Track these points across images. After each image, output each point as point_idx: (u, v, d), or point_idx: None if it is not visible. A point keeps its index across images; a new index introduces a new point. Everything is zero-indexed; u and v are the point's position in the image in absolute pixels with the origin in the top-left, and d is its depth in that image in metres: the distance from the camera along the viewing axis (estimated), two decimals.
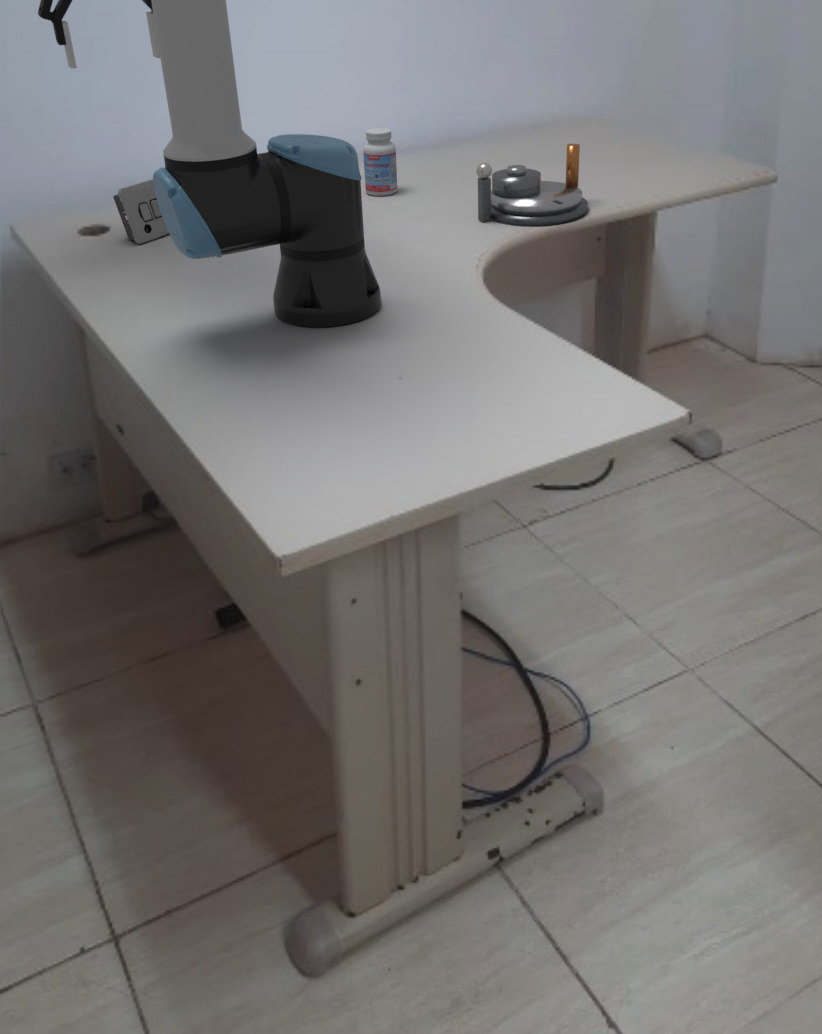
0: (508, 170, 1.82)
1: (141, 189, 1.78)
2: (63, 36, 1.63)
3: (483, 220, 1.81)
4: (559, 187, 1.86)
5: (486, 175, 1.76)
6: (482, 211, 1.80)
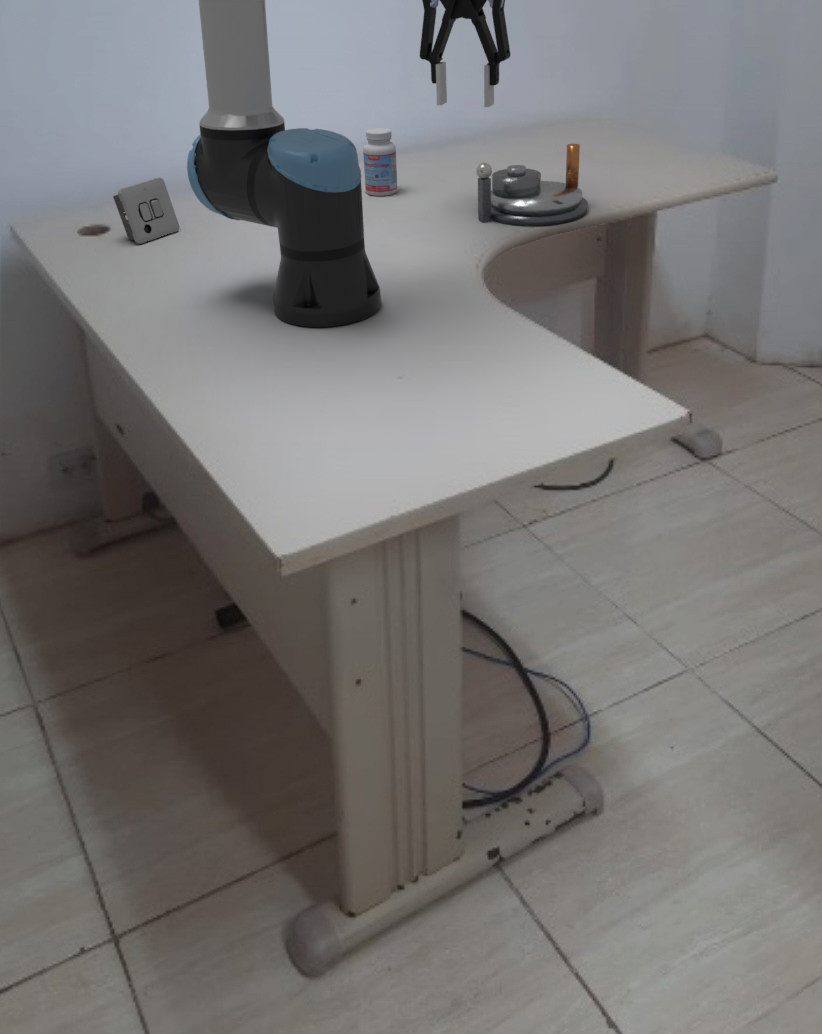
0: (508, 170, 1.82)
1: (141, 189, 1.78)
2: None
3: (483, 220, 1.81)
4: (559, 187, 1.86)
5: (486, 175, 1.76)
6: (482, 211, 1.80)
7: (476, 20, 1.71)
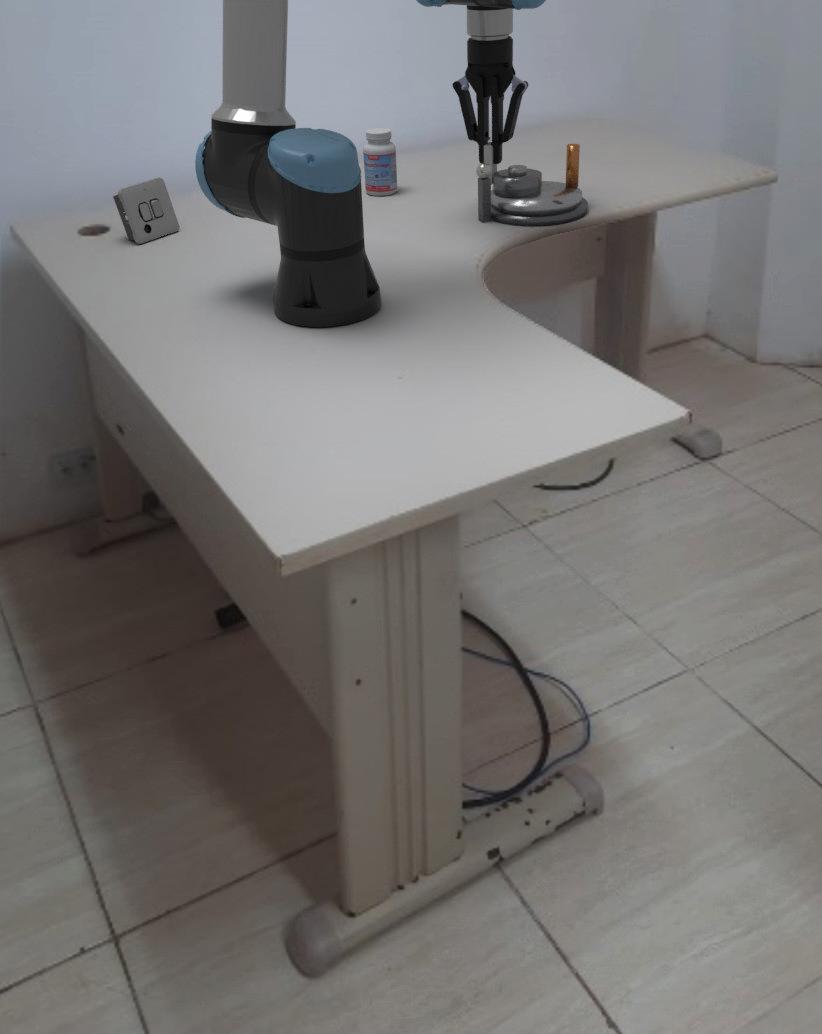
0: (509, 170, 1.82)
1: (141, 189, 1.78)
2: (484, 156, 1.83)
3: (483, 220, 1.81)
4: (559, 187, 1.86)
5: (486, 175, 1.76)
6: (482, 211, 1.80)
7: (495, 101, 1.77)
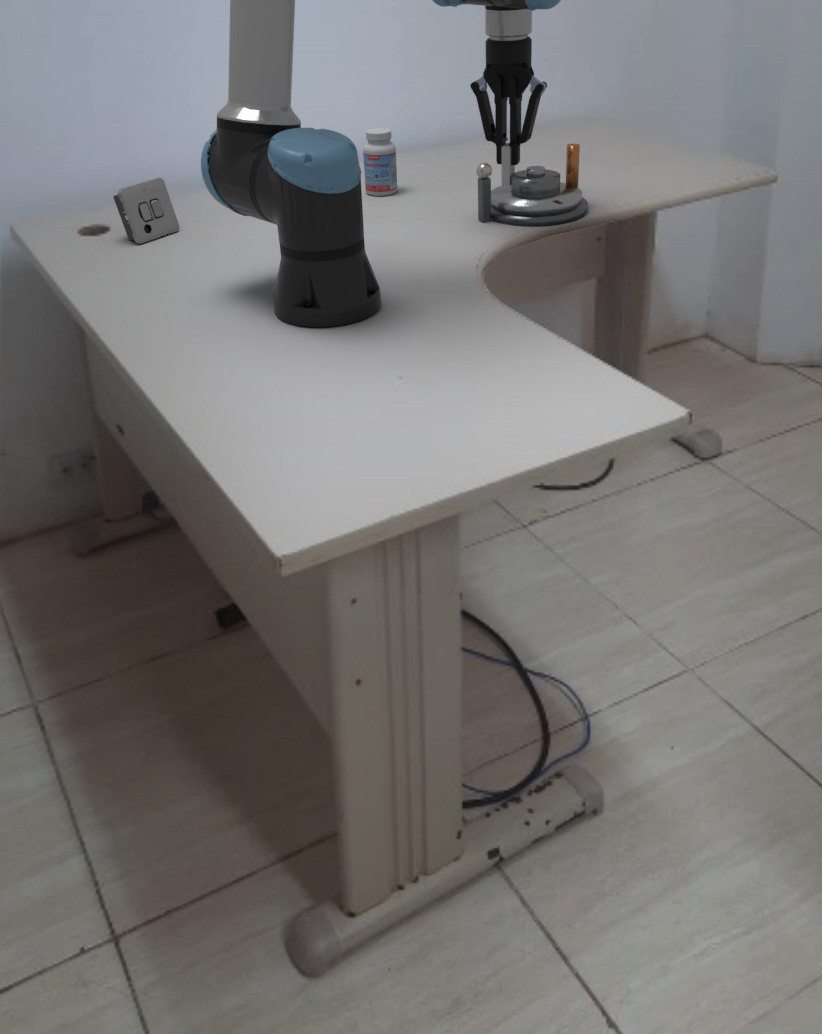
0: (527, 171, 1.81)
1: (141, 189, 1.78)
2: (501, 157, 1.82)
3: (483, 220, 1.81)
4: None
5: (486, 175, 1.76)
6: (482, 211, 1.80)
7: (513, 102, 1.76)
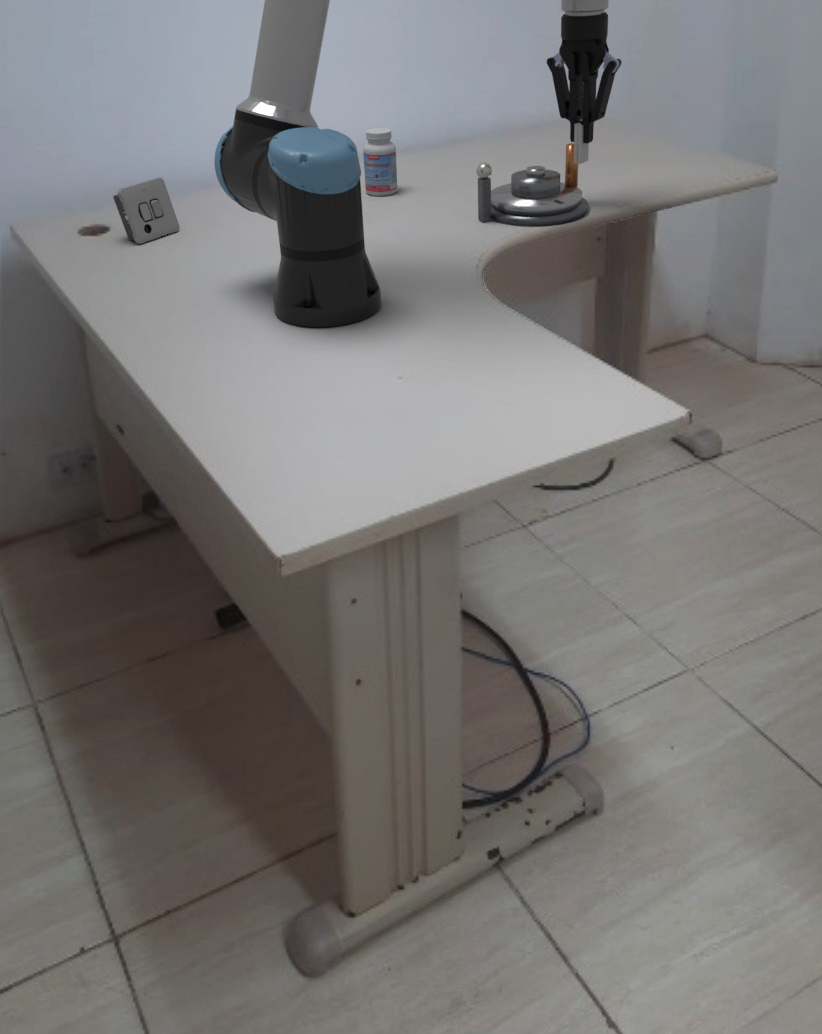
0: (527, 171, 1.81)
1: (141, 189, 1.78)
2: None
3: (483, 220, 1.81)
4: None
5: (486, 175, 1.76)
6: (482, 211, 1.80)
7: (586, 79, 1.74)
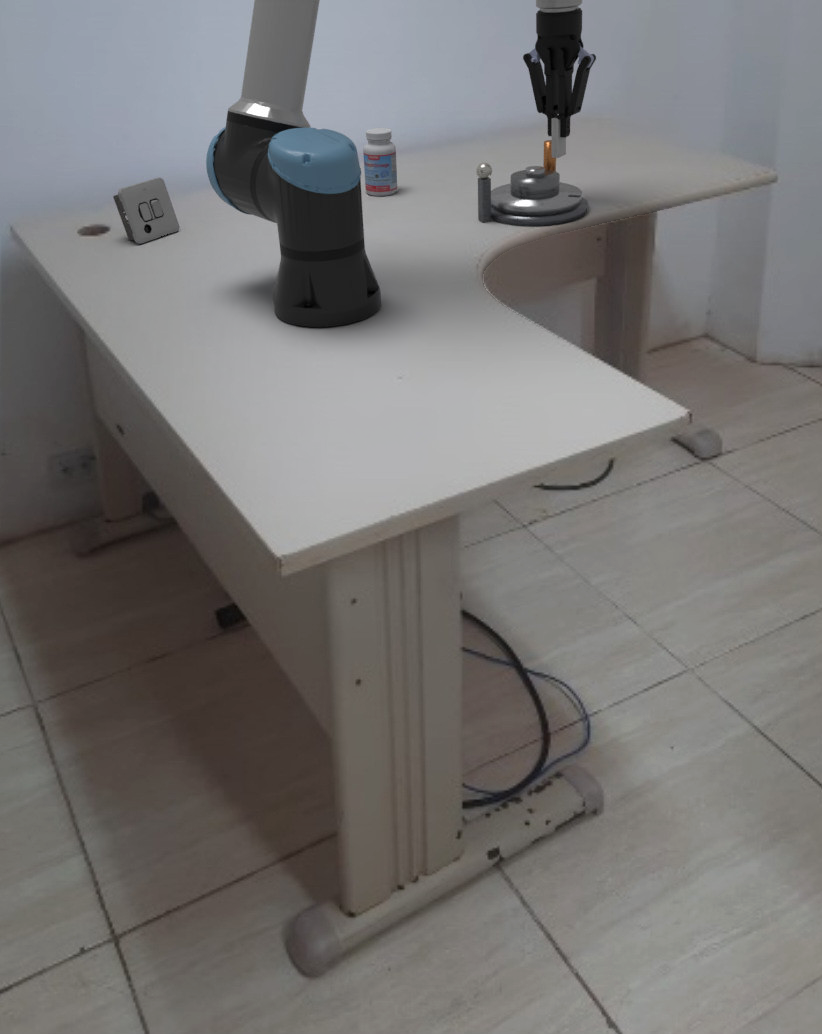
0: (531, 172, 1.81)
1: (141, 189, 1.78)
2: None
3: (483, 220, 1.81)
4: None
5: (486, 175, 1.76)
6: (482, 211, 1.80)
7: (561, 74, 1.77)
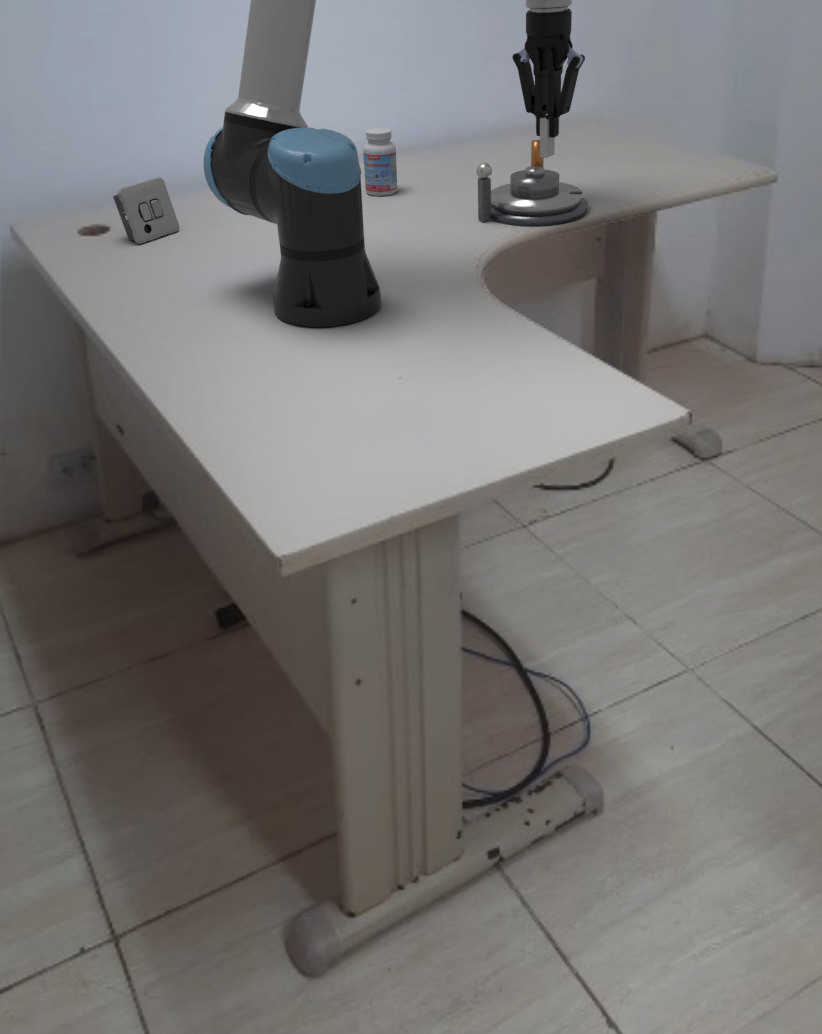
0: (534, 172, 1.80)
1: (141, 189, 1.78)
2: None
3: (483, 220, 1.81)
4: None
5: (486, 175, 1.76)
6: (482, 211, 1.80)
7: (550, 74, 1.77)
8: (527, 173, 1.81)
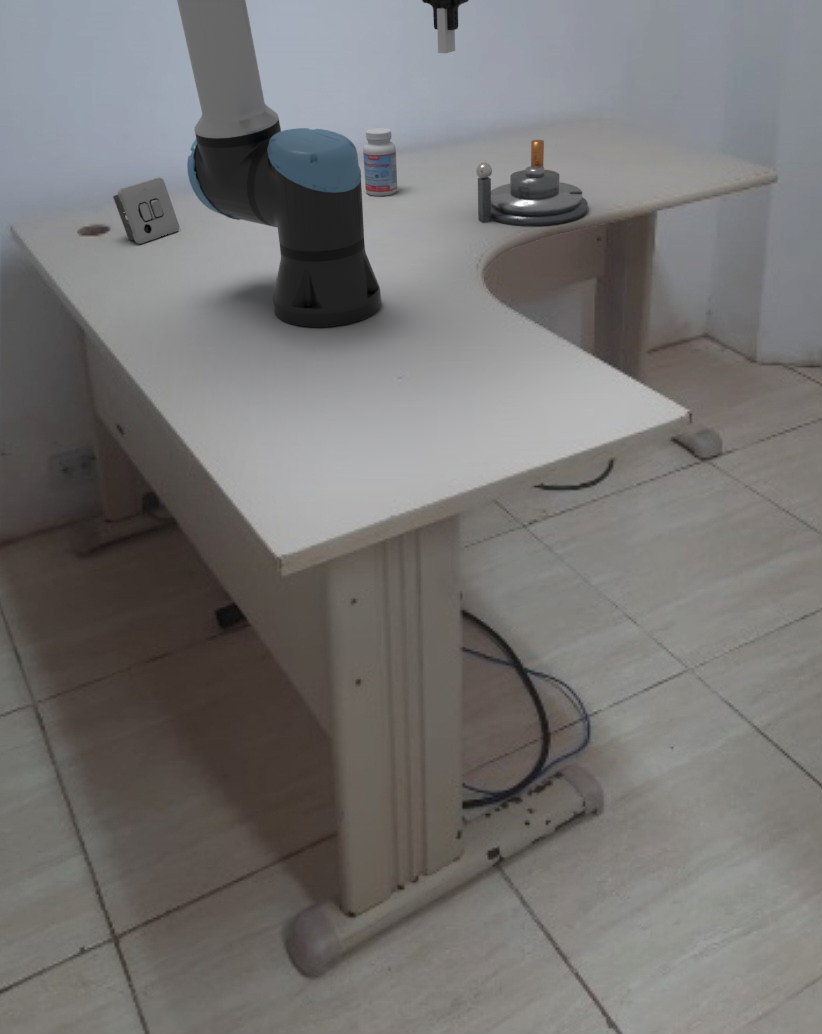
0: (534, 172, 1.80)
1: (141, 189, 1.78)
2: None
3: (483, 220, 1.81)
4: None
5: (486, 175, 1.76)
6: (482, 211, 1.80)
7: None
8: (527, 173, 1.81)
